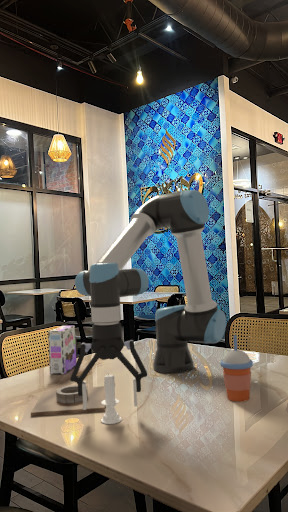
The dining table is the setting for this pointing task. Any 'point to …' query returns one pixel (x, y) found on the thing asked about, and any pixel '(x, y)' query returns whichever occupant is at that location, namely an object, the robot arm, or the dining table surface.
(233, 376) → the cup with straw
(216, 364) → the dining table surface
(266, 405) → the dining table surface
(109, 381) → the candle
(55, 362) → the candy box
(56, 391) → the flange board
